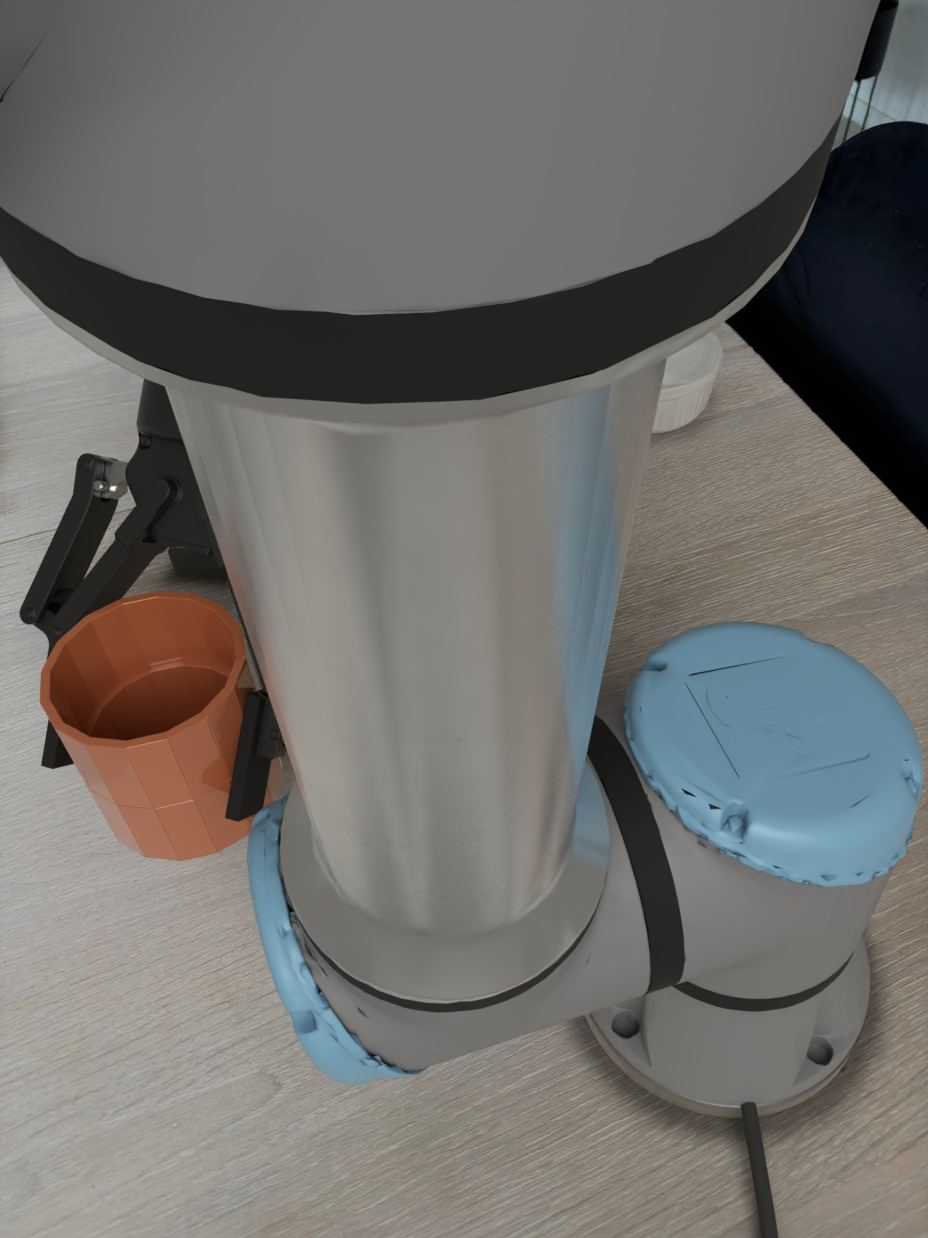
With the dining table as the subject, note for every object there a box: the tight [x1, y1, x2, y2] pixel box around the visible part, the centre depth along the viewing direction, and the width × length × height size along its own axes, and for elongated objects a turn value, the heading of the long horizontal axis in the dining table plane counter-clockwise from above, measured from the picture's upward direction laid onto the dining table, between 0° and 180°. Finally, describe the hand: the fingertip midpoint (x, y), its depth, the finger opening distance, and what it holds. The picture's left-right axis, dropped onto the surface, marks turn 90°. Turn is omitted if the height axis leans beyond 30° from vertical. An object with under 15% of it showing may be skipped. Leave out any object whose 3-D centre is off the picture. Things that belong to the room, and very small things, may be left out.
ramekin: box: [652, 330, 724, 434], centre depth 91 cm, size 11×11×5 cm
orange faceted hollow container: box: [39, 590, 285, 862], centre depth 59 cm, size 10×10×11 cm
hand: (151, 788), depth 58 cm, fingers closed on orange faceted hollow container, 10 cm apart
